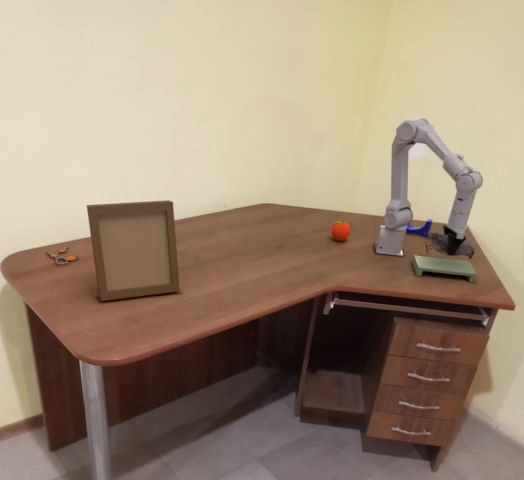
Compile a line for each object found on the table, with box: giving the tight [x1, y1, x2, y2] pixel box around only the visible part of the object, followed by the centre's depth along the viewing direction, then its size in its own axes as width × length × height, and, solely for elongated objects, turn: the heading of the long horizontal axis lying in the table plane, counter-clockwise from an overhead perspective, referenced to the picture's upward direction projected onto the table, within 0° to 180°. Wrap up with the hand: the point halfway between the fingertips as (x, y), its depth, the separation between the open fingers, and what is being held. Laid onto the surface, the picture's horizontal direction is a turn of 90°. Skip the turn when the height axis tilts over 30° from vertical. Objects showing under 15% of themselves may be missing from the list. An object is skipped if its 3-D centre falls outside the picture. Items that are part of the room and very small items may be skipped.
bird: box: [425, 230, 477, 260], centre depth 170 cm, size 5×16×8 cm, turn 80°
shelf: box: [411, 254, 478, 283], centre depth 175 cm, size 19×10×3 cm, turn 85°
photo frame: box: [86, 200, 181, 302], centre depth 143 cm, size 15×22×25 cm
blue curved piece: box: [405, 218, 433, 238], centre depth 204 cm, size 12×4×6 cm, turn 58°
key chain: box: [46, 245, 77, 265], centre depth 163 cm, size 13×7×1 cm, turn 31°
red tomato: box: [328, 220, 351, 242], centre depth 191 cm, size 8×7×7 cm
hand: (448, 251), depth 172 cm, fingers closed on bird, 5 cm apart
